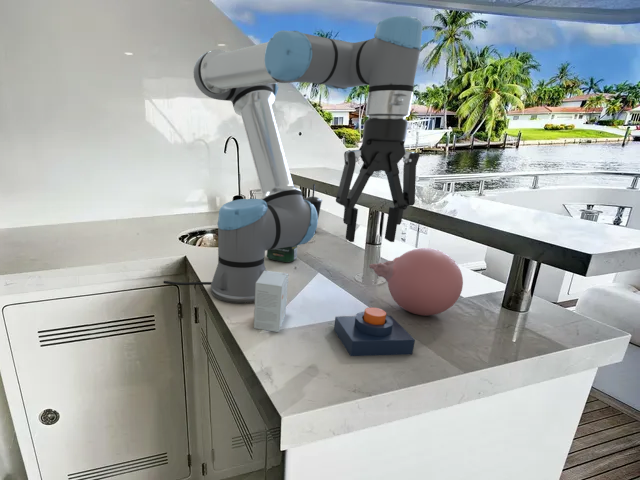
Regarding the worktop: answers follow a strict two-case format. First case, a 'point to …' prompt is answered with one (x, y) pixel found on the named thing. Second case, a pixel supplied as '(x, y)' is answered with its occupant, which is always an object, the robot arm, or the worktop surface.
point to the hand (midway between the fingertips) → (369, 240)
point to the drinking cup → (314, 201)
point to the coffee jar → (283, 254)
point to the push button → (373, 336)
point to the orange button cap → (374, 316)
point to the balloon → (422, 280)
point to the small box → (270, 300)
